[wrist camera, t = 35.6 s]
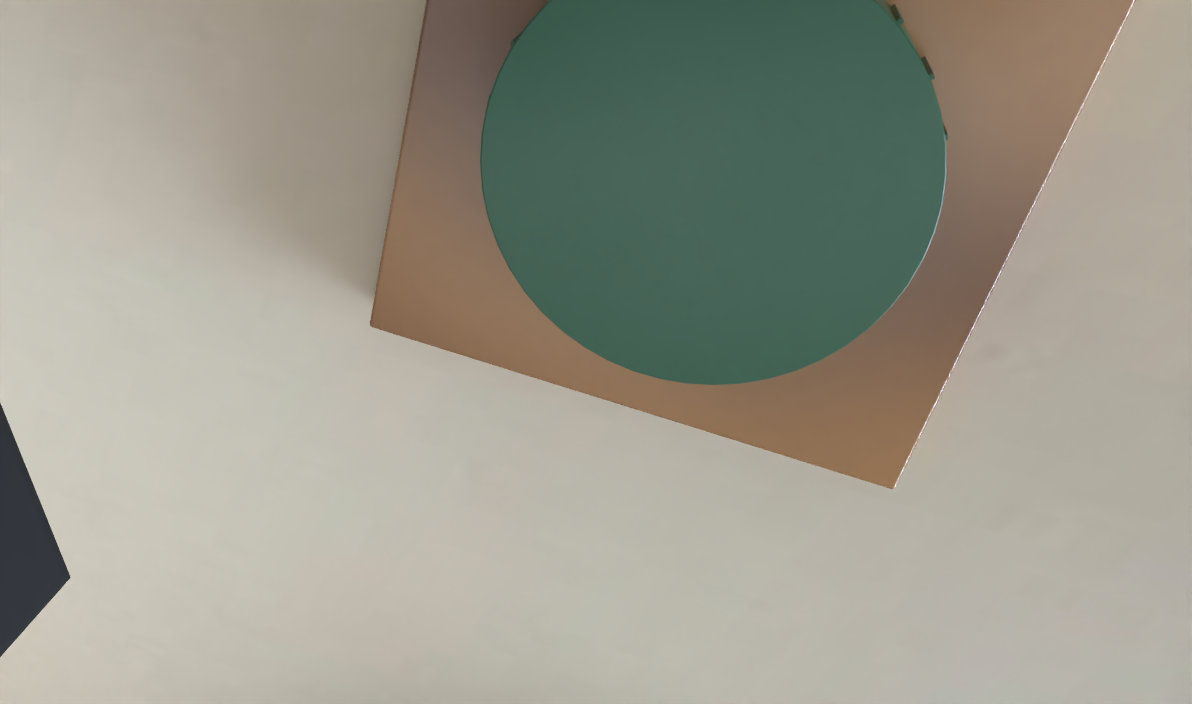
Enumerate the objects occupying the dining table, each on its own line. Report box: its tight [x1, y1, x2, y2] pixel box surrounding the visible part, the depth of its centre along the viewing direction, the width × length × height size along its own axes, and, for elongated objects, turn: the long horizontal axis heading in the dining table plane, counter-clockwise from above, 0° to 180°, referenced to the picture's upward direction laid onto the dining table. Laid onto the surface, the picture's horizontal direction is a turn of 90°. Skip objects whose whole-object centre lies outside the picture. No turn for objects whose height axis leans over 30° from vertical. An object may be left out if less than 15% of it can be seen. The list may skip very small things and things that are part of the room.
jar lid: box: [480, 0, 948, 385], centre depth 20 cm, size 8×8×2 cm
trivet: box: [370, 0, 1135, 489], centre depth 21 cm, size 12×12×1 cm
